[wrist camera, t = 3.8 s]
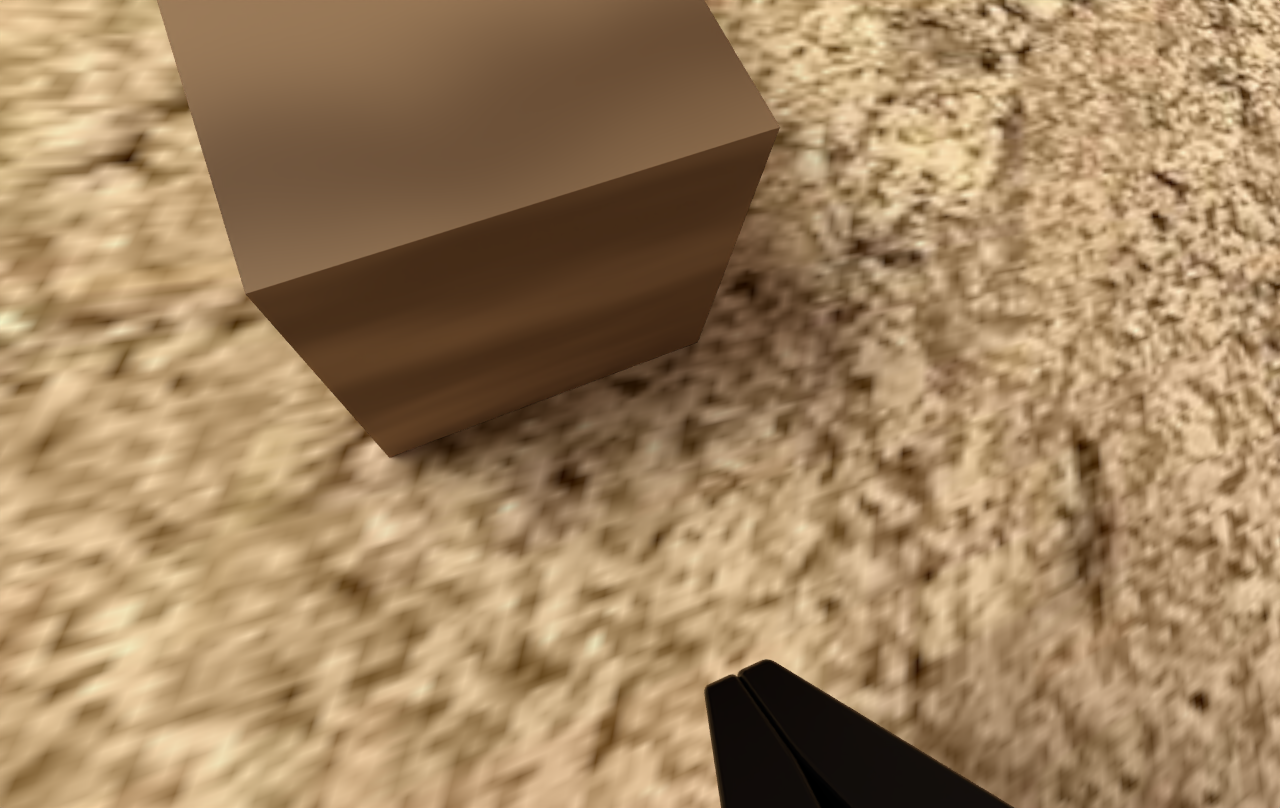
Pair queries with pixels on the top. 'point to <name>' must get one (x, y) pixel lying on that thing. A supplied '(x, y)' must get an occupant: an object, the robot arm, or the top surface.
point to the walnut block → (472, 188)
